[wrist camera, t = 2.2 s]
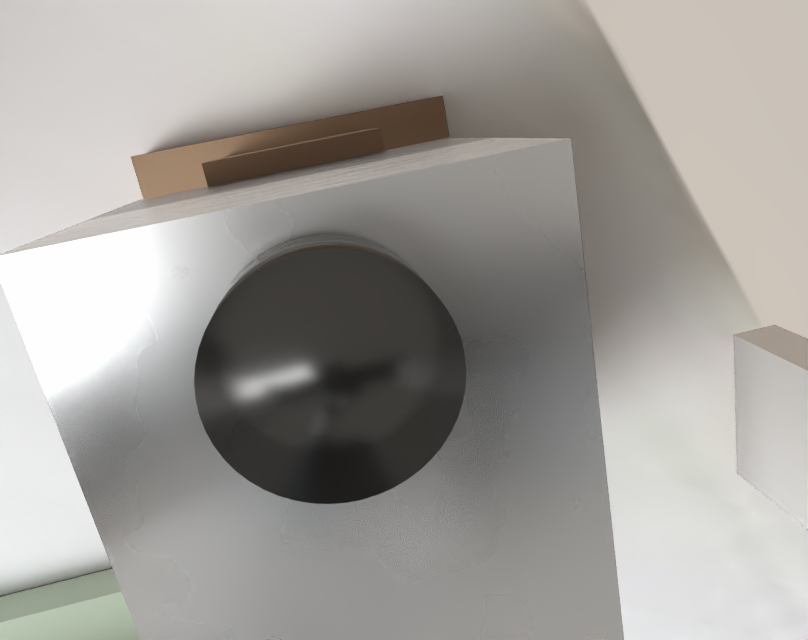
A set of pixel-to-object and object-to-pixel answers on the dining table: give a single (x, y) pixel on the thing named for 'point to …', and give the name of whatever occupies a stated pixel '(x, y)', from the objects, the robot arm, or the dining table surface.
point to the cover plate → (338, 402)
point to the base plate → (289, 174)
